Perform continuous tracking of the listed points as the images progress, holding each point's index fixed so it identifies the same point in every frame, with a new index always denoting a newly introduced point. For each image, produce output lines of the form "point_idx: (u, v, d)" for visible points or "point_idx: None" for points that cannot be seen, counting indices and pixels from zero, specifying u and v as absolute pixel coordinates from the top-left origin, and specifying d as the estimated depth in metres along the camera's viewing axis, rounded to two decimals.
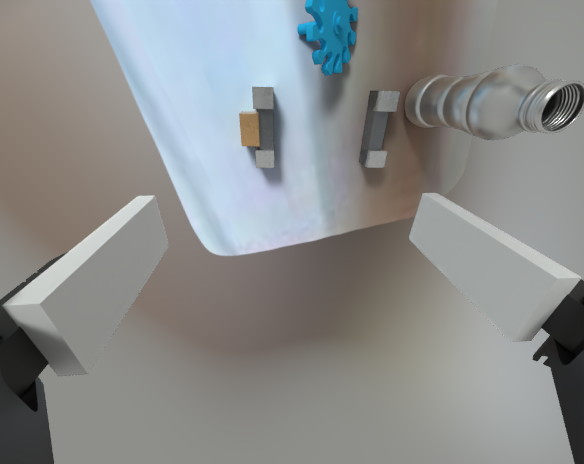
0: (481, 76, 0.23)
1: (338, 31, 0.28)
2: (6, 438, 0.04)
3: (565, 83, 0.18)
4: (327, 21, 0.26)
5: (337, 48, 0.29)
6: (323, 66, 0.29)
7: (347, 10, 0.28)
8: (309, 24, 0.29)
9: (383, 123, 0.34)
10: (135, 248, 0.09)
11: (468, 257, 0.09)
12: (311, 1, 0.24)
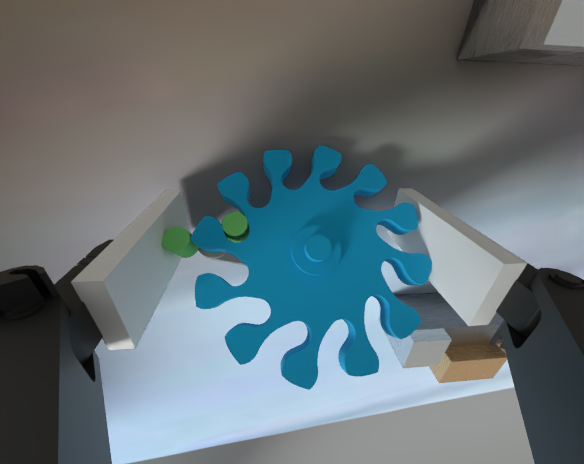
0: None
1: (335, 246, 0.10)
2: (75, 402, 0.04)
3: None
4: (323, 301, 0.09)
5: (367, 239, 0.10)
6: (409, 284, 0.10)
7: (279, 200, 0.10)
8: None
9: None
10: None
11: (435, 248, 0.10)
12: (298, 385, 0.09)
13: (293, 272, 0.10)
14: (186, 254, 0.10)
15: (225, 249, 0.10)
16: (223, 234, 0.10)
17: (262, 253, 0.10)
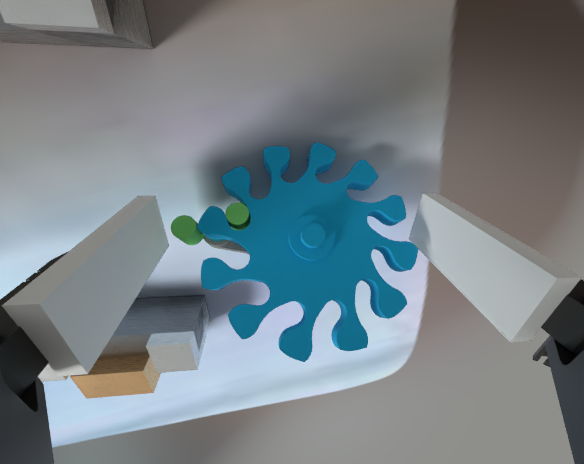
0: None
1: (329, 234, 0.11)
2: (6, 438, 0.04)
3: None
4: (318, 283, 0.10)
5: (359, 228, 0.11)
6: (397, 270, 0.11)
7: (278, 192, 0.11)
8: None
9: None
10: (135, 248, 0.09)
11: (468, 257, 0.09)
12: (294, 358, 0.10)
13: (290, 257, 0.10)
14: (192, 241, 0.11)
15: (228, 236, 0.10)
16: (226, 223, 0.11)
17: (262, 240, 0.11)
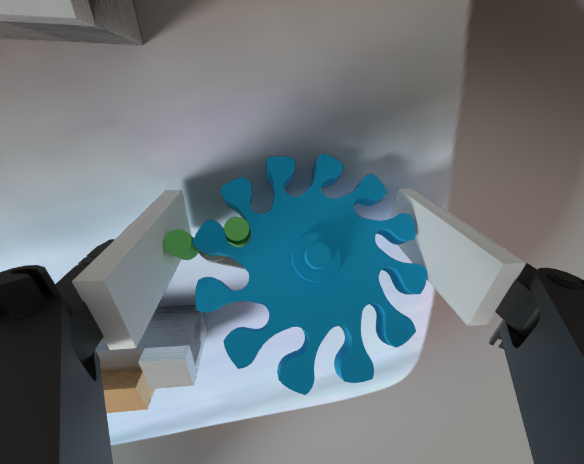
0: None
1: (334, 254, 0.10)
2: (76, 401, 0.04)
3: None
4: (322, 307, 0.10)
5: (366, 248, 0.10)
6: (405, 293, 0.11)
7: (281, 206, 0.10)
8: None
9: None
10: None
11: (434, 248, 0.10)
12: (295, 390, 0.09)
13: (293, 278, 0.10)
14: (187, 257, 0.10)
15: (226, 253, 0.10)
16: (225, 238, 0.10)
17: (263, 258, 0.10)
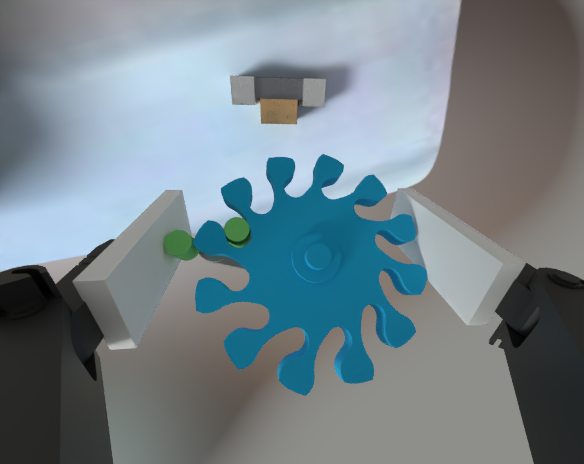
0: None
1: (334, 254, 0.10)
2: (77, 401, 0.04)
3: None
4: (322, 308, 0.10)
5: (366, 248, 0.10)
6: (405, 293, 0.11)
7: (281, 207, 0.10)
8: None
9: None
10: None
11: (434, 248, 0.10)
12: (295, 391, 0.09)
13: (293, 279, 0.10)
14: (187, 257, 0.10)
15: (226, 254, 0.10)
16: (225, 239, 0.10)
17: (263, 259, 0.10)
